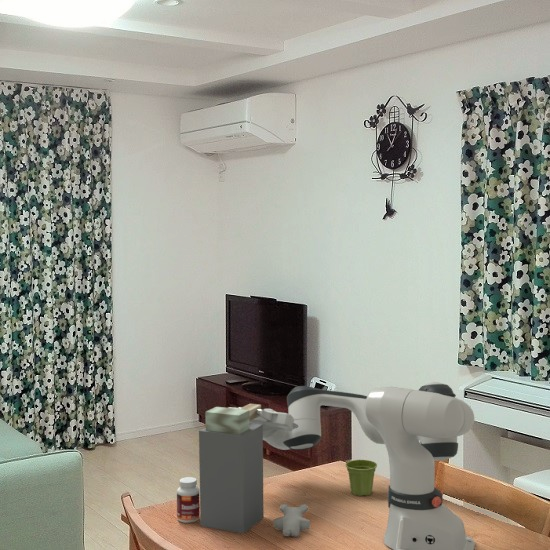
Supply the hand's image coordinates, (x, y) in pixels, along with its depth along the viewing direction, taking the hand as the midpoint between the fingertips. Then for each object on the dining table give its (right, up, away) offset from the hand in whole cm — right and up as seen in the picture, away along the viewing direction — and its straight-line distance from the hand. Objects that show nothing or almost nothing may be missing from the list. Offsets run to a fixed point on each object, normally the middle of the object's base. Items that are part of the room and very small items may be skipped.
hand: (249, 410), depth 224 cm
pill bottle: (-17, -29, -6) cm, 34 cm away
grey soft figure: (+12, -29, -12) cm, 34 cm away
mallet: (-3, -2, -5) cm, 7 cm away
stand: (-4, -29, -8) cm, 30 cm away
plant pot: (+33, -27, +13) cm, 45 cm away
